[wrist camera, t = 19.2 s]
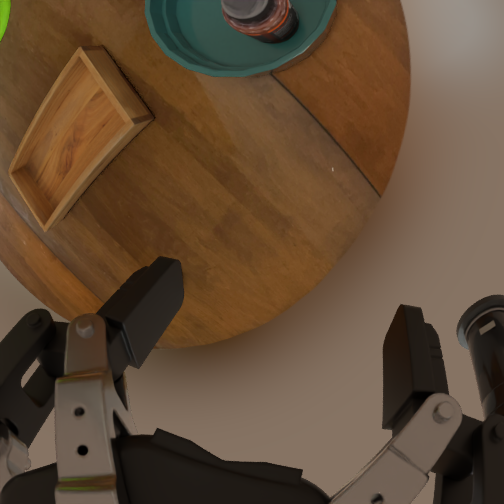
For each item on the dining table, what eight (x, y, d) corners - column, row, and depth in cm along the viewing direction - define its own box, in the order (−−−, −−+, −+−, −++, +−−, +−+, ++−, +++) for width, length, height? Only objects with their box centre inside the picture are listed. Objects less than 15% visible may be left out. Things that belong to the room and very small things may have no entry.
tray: (104, 45, 33) (77, 46, 28) (157, 117, 37) (132, 125, 33) (27, 162, 48) (6, 172, 43) (64, 219, 52) (45, 232, 48)
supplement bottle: (304, 3, 25) (288, -28, 16) (294, 48, 28) (275, 34, 19) (252, -4, 26) (216, -32, 16) (243, 40, 29) (204, 27, 20)
